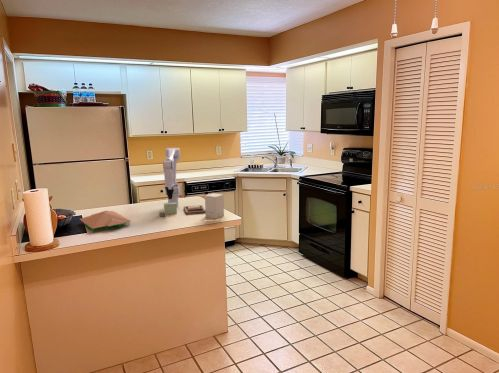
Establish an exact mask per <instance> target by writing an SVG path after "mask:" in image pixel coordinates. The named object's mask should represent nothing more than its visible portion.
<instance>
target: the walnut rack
mask: <svg viewBox="0 0 499 373" xmlns="http://www.w3.org/2000/svg"><path fill="white" fill-rule="evenodd" d="M191 206H192V205H188V206H186V205H185V206H183V210H184V212H185V214H186V216H187V215H198V214H199V215H200V214H206V213H205V206H203V205H200V204H199V205H197V206H200V207H201V208H196V209H187V207H191Z"/></svg>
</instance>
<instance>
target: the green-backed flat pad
mask: <svg viewBox="0 0 499 373" xmlns="http://www.w3.org/2000/svg"><path fill="white" fill-rule="evenodd" d="M79 220H80V221H81V222H82V223H83V226H85V227H86V228H88V230H90V231H91V232H92V233H95V230H98V231H101V232H102V231H103V230H106V231H107V230H109V229H111V230H115V229H117V228H118V229H120V228H121V229H122V228H123V226H126V225H127V226H130V224H131V223H130V222H131V220H130V219H129V218H127V217H125V216H123V215H121V214H120V213H118V212H116V211H114V210H103V211H101V212H96V213H94V214H91V215H88V216H85V217H81V218H79ZM116 226H117V227H116Z"/></svg>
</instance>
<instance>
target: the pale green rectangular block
mask: <svg viewBox="0 0 499 373" xmlns="http://www.w3.org/2000/svg"><path fill="white" fill-rule="evenodd" d="M177 208H178V207H177V205H176V202H174V203H168V202H164V203H163V210H164V211H163V212H164V214H165V215H172V214H173V215H175V214H177V213H178V209H177Z"/></svg>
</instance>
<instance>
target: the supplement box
mask: <svg viewBox="0 0 499 373" xmlns="http://www.w3.org/2000/svg"><path fill="white" fill-rule="evenodd" d="M224 198H225V197H224V194H222V193H214V192H212V193H209V194H206V195H204V209H205V213H204V214H205V217H206V218H211V219H214V220H217V219H218V218H221V217H223V216H225V209H224V208H225V207H224V206H225V204H224V202H225V201H224V200H225V199H224Z"/></svg>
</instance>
